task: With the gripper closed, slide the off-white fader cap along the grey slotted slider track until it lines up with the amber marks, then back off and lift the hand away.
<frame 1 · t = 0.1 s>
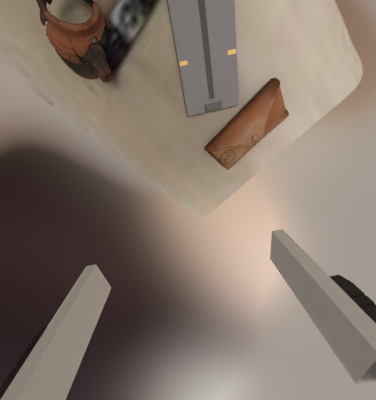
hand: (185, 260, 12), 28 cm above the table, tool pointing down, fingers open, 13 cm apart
sunglasses case: (244, 130, 35), on the table
grey slotted slider track: (201, 24, 26), on the table
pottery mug: (93, 51, 27), on the table
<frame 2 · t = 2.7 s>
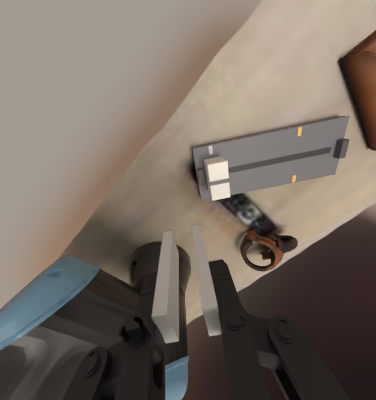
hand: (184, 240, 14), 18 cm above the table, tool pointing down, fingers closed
fader: (216, 178, 26), point 5 cm above the table, slide at 0.0 cm
sunglasses case: (373, 92, 26), on the table
grey slotted slider track: (262, 160, 30), on the table
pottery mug: (260, 238, 39), on the table
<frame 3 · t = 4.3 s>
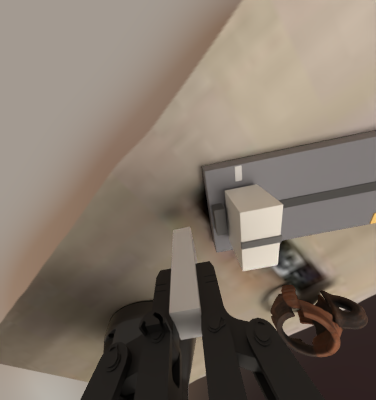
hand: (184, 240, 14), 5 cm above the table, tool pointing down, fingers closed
fader: (250, 226, 14), point 5 cm above the table, slide at 0.0 cm
grey slotted slider track: (321, 185, 18), on the table
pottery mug: (298, 293, 27), on the table
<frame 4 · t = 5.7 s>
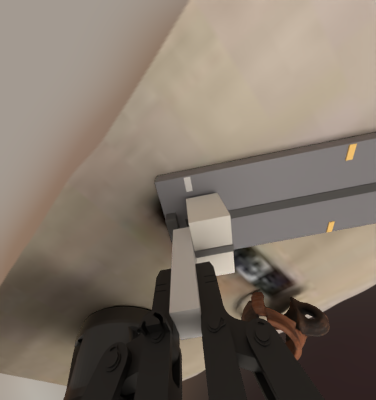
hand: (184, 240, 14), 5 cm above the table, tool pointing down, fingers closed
fader: (209, 234, 14), point 5 cm above the table, slide at 1.0 cm, touching gripper
grey slotted slider track: (279, 195, 18), on the table
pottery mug: (270, 300, 27), on the table
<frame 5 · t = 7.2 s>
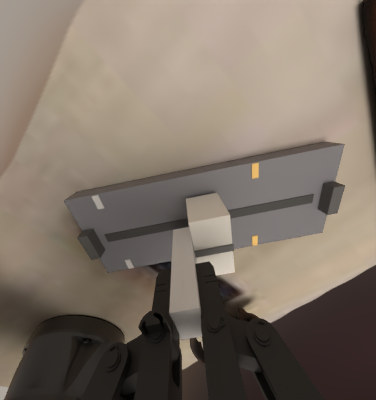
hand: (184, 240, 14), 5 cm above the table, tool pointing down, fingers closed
fader: (209, 234, 14), point 5 cm above the table, slide at 9.7 cm, touching gripper
grey slotted slider track: (204, 209, 18), on the table
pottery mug: (222, 309, 28), on the table
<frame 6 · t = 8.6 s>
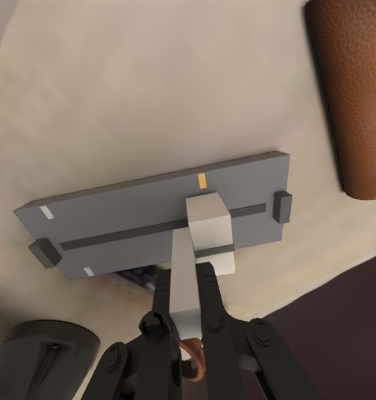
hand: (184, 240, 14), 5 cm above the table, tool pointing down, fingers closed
fader: (209, 234, 14), point 5 cm above the table, slide at 14.7 cm, touching gripper
sunglasses case: (362, 96, 14), on the table
grey slotted slider track: (163, 217, 18), on the table
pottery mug: (196, 316, 28), on the table
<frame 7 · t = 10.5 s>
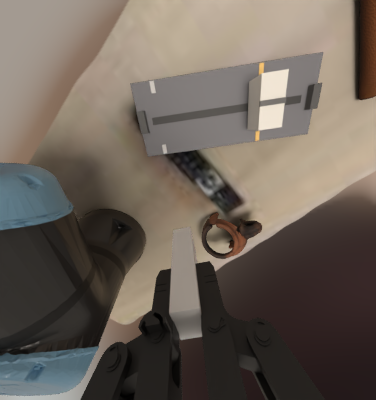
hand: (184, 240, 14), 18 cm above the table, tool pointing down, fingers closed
fader: (265, 103, 21), point 5 cm above the table, slide at 14.7 cm
grey slotted slider track: (222, 111, 25), on the table
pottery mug: (227, 225, 35), on the table
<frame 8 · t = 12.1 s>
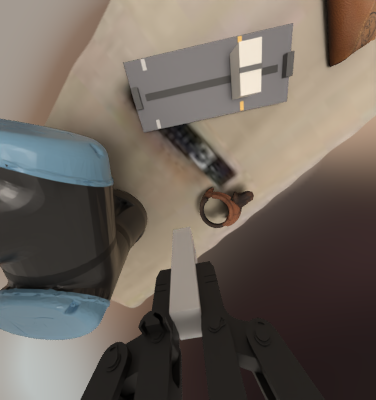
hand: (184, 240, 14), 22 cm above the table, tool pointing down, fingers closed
fader: (245, 72, 23), point 5 cm above the table, slide at 14.7 cm
grey slotted slider track: (208, 86, 27), on the table
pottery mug: (222, 199, 38), on the table
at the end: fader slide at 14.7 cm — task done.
